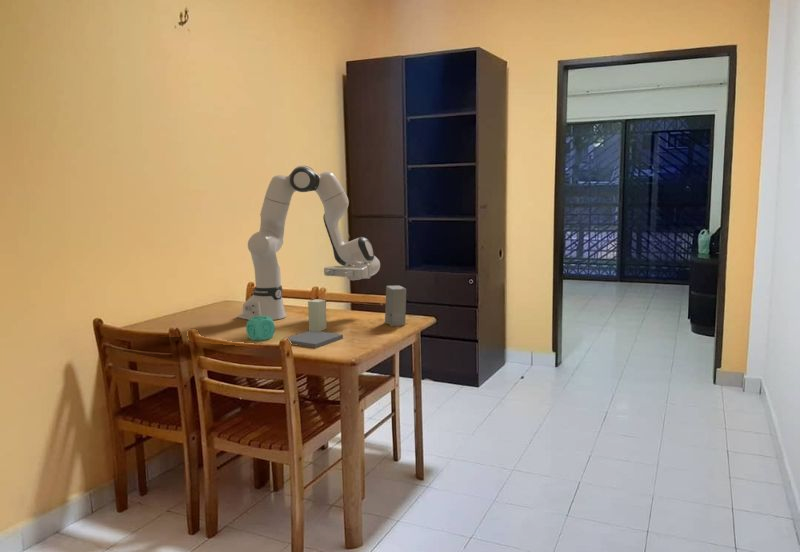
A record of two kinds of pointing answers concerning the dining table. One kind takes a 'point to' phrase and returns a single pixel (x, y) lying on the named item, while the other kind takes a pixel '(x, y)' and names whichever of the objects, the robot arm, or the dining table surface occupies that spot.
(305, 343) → the slate board
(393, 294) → the skincare box
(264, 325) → the decorative dice
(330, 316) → the dining table surface
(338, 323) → the dining table surface
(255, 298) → the robot arm
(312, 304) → the sage block
